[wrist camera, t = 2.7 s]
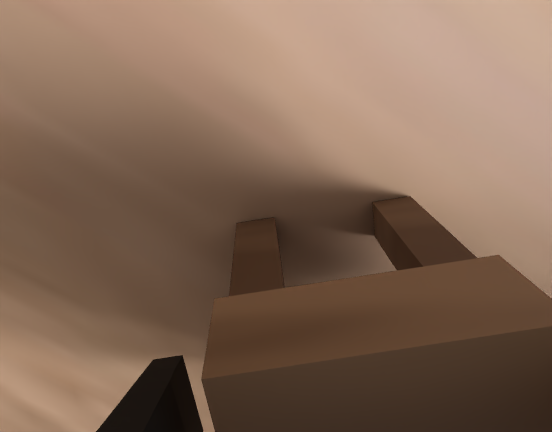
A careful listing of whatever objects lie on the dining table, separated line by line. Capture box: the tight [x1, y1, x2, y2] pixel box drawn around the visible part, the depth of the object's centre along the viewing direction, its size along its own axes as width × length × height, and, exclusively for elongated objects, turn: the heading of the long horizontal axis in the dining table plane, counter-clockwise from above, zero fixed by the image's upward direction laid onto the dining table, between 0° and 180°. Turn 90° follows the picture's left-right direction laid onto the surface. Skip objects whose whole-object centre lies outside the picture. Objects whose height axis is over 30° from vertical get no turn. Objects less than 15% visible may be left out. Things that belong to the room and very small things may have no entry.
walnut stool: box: [201, 196, 552, 432], centre depth 9 cm, size 5×5×6 cm
